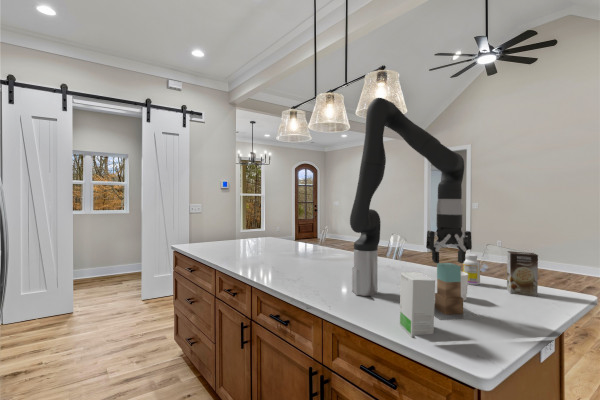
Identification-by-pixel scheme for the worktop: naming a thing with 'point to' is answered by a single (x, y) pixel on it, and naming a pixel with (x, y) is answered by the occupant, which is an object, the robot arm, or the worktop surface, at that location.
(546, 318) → the worktop surface
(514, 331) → the worktop surface
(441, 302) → the tower bottom
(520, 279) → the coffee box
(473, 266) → the supplement bottle
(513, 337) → the worktop surface
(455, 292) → the block
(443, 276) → the teal cube
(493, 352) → the worktop surface
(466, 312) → the pale flat pad
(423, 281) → the skincare box
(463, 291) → the white cup
